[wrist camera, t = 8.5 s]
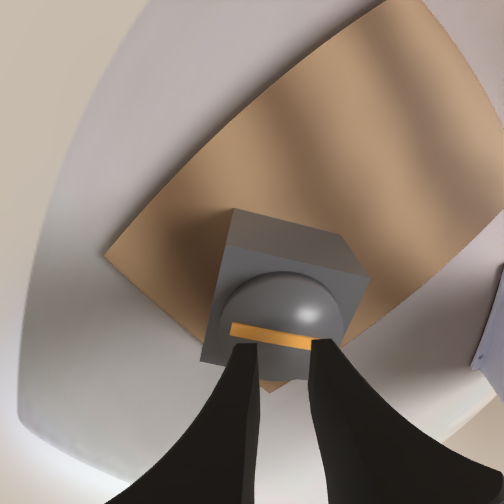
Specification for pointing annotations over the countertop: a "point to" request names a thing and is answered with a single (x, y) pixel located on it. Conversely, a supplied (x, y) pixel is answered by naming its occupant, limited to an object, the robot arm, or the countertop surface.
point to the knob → (281, 293)
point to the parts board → (337, 169)
